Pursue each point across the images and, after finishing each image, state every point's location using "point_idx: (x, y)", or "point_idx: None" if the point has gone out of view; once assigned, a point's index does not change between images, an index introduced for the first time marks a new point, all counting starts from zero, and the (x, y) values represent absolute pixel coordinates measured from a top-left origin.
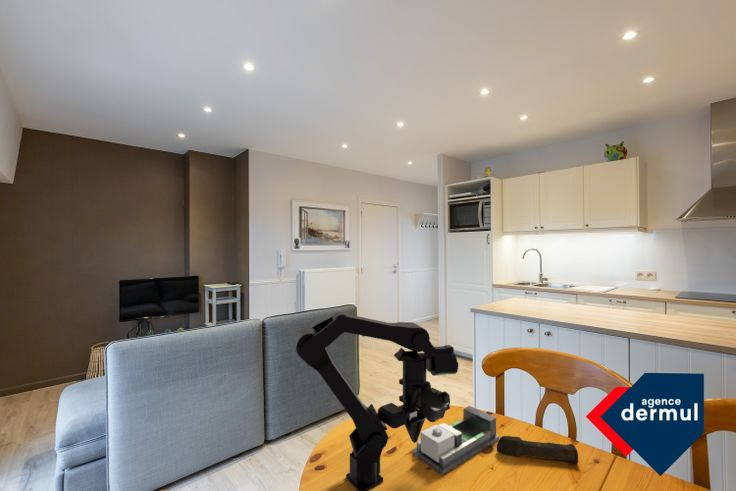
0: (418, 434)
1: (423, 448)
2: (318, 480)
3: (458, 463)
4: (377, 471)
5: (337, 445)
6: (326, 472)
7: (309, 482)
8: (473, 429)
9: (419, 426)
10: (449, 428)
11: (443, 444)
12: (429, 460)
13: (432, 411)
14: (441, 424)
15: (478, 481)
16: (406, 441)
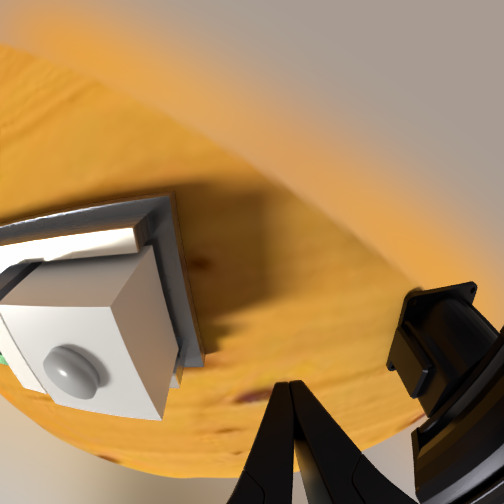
0: (277, 426)
1: (171, 348)
2: None
3: (65, 210)
4: (421, 327)
5: (366, 438)
6: None
7: None
8: None
9: (288, 495)
10: (9, 352)
11: (77, 291)
12: (175, 288)
13: None
14: (34, 388)
15: (69, 88)
16: (182, 402)
